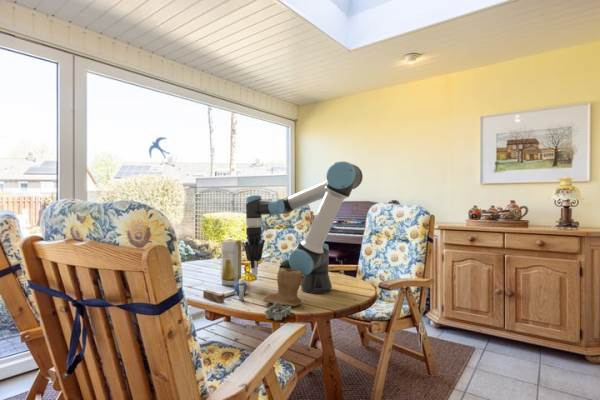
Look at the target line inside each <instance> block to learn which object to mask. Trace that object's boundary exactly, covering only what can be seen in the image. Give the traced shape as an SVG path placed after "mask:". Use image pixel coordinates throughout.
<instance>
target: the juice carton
mask: <svg viewBox="0 0 600 400" xmlns="http://www.w3.org/2000/svg"><path fill="white" fill-rule="evenodd" d="M220 253H221V255H220V256H221V258H220V260H221V261H220V262H221V264H220V265H221V267H220V275H221V276H220V280H221V285H224V286H234V285H235V283H236V282H238V281H239V280H240V279H242V241H241V239H234V238H232V237H229V238H227V239H224V240H221V252H220Z"/></svg>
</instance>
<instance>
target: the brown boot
mask: <svg viewBox="0 0 600 400" xmlns="http://www.w3.org/2000/svg"><path fill="white" fill-rule="evenodd" d="M276 279H277V289H278V290H277V293H269V294H266V295H265V296H264V297H263V300H262V301H263V302H264V303H269V304H272V305H273V304H274V303H275V302H277V301H278V302H279V303H282V305H283V306H285V305H287V306H290V307H291V306H292V307H296V306H300V304H302V302H303V301H302V299H301V298H299V297H298V293H299V289H300V288H301V286H300V285H301V284H302V279H303V275H302V273H301V272H300V271H299V270H294V269H286V268H280V269H278V271H277V277H276Z"/></svg>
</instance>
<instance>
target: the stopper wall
mask: <svg viewBox="0 0 600 400" xmlns="http://www.w3.org/2000/svg"><path fill="white" fill-rule="evenodd" d="M202 291H203V295H202V296H203V297H202V298H204V299H207V300H210V301H213V302H216V303H218V304H221V303H224V300H225V299H224V298H225V297H224V295H222V294H221V293H219V292H216V291H212V290H209V289H206V290H202Z"/></svg>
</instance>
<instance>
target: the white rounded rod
mask: <svg viewBox="0 0 600 400" xmlns="http://www.w3.org/2000/svg"><path fill="white" fill-rule="evenodd" d="M244 282H245V279H244V278H243V279H242V278H241V279H240V280H239V293H238V301H240V302H244V299H245V298H244V296H245V295H244V293H245V292H244Z"/></svg>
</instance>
